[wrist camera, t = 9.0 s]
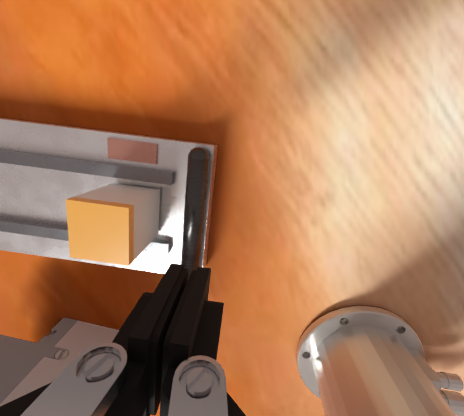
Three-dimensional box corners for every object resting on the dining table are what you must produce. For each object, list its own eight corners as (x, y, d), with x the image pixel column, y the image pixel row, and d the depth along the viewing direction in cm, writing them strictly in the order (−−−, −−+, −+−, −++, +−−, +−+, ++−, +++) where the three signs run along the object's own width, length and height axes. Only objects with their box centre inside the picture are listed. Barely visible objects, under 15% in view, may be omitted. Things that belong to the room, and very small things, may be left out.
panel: (218, 144, 22) (210, 146, 18) (206, 265, 25) (197, 289, 22) (-83, 107, 23) (-151, 101, 19) (-56, 228, 26) (-109, 244, 23)
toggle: (160, 189, 21) (128, 208, 15) (158, 234, 22) (128, 265, 16) (112, 183, 21) (65, 199, 16) (113, 228, 22) (70, 257, 17)
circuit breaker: (12, 305, 29) (-227, 474, 14) (133, 333, 29) (13, 533, 14) (14, 355, 31) (-191, 546, 17) (127, 381, 31) (18, 598, 16)
